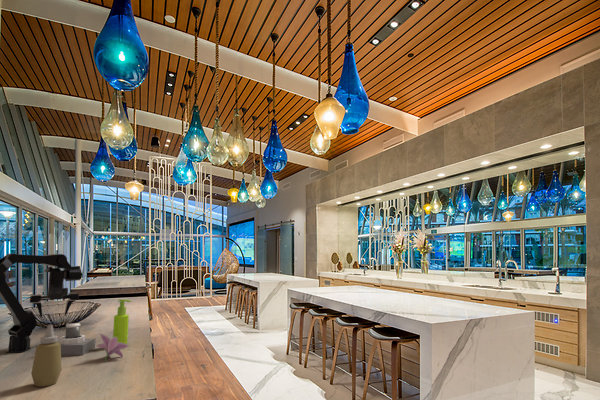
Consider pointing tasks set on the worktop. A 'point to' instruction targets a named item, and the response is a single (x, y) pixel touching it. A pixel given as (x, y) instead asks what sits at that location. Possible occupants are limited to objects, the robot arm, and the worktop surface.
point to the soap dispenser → (121, 323)
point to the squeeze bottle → (47, 360)
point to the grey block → (72, 331)
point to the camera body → (76, 345)
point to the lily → (112, 345)
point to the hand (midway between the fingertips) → (53, 317)
